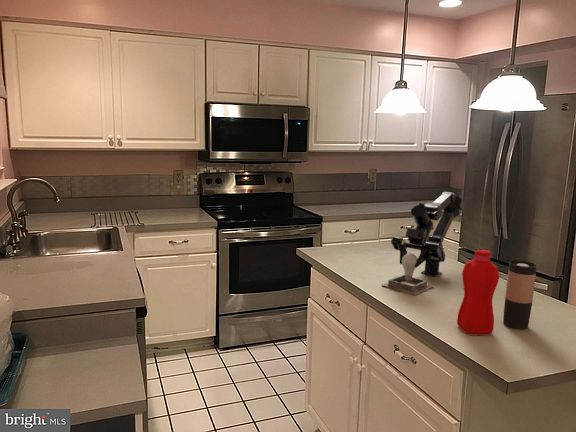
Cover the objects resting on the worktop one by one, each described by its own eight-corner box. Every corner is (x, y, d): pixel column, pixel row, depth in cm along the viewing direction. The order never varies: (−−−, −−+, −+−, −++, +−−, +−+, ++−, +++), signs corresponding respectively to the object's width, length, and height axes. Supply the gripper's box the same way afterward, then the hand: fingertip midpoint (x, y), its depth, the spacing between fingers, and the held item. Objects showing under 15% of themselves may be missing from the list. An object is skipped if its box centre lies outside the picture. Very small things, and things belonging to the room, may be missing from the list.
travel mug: (497, 320, 153) (504, 260, 150) (520, 320, 154) (527, 260, 150) (510, 330, 146) (518, 267, 142) (534, 330, 147) (542, 267, 143)
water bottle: (477, 321, 152) (486, 244, 148) (497, 336, 142) (506, 254, 137) (450, 322, 151) (457, 245, 146) (467, 337, 140) (476, 254, 136)
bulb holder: (400, 278, 193) (401, 272, 193) (433, 287, 184) (433, 281, 183) (381, 286, 183) (382, 279, 183) (414, 295, 174) (415, 289, 173)
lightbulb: (412, 285, 179) (414, 256, 177) (397, 281, 183) (399, 253, 181) (419, 281, 184) (421, 253, 182) (404, 277, 187) (406, 250, 185)
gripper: (394, 216, 187) (379, 249, 181) (441, 223, 176) (426, 258, 170) (402, 232, 195) (387, 264, 189) (447, 240, 184) (433, 274, 177)
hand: (407, 265), depth 181 cm, fingers closed on lightbulb, 6 cm apart
